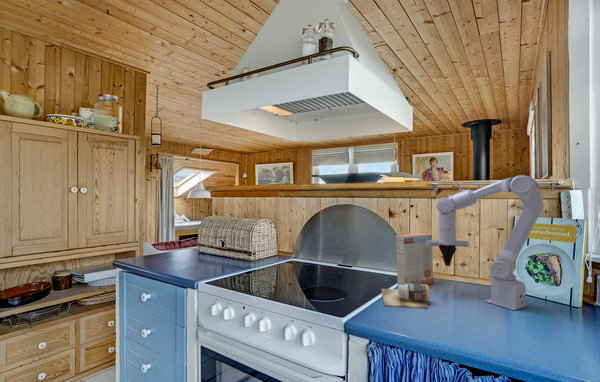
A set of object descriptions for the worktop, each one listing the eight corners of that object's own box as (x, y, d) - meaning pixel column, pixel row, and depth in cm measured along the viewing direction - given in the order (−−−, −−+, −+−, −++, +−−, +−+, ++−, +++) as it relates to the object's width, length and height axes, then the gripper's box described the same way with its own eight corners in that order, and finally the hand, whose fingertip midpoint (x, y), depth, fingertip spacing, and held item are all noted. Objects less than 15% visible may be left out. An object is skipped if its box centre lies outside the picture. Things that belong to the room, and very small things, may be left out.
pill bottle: (429, 305, 109) (399, 303, 111) (426, 292, 114) (397, 291, 116) (430, 293, 106) (399, 291, 109) (427, 280, 111) (397, 279, 114)
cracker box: (423, 280, 137) (423, 232, 137) (433, 284, 131) (433, 234, 131) (396, 284, 132) (395, 234, 132) (405, 288, 127) (404, 235, 127)
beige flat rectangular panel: (418, 291, 122) (418, 290, 122) (428, 308, 104) (428, 307, 104) (381, 289, 125) (381, 288, 125) (384, 306, 107) (384, 304, 107)
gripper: (464, 228, 123) (464, 263, 123) (424, 228, 126) (425, 262, 126) (470, 230, 116) (470, 267, 116) (428, 230, 119) (428, 266, 119)
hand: (447, 265), depth 120 cm, fingers closed
